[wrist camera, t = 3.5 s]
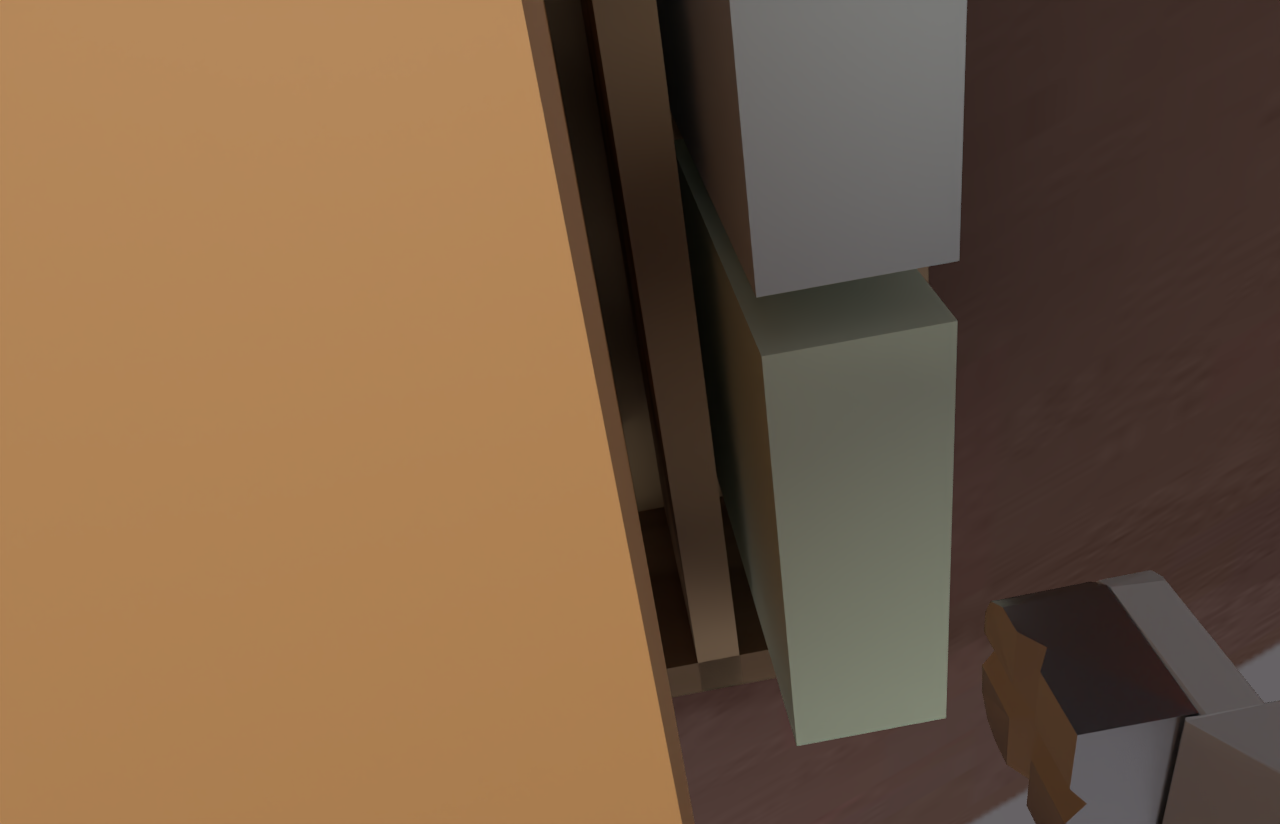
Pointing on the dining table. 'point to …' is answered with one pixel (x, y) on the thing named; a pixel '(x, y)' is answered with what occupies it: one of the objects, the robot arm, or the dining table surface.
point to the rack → (655, 336)
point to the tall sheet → (311, 428)
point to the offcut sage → (833, 476)
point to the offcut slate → (823, 131)
